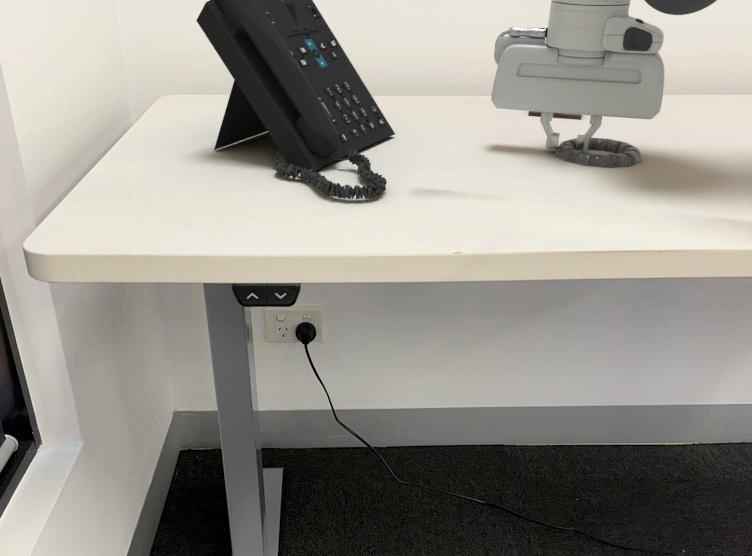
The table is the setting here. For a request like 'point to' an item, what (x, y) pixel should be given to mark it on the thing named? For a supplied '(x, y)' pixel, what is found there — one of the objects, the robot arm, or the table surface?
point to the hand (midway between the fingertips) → (566, 149)
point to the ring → (622, 157)
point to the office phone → (294, 90)
